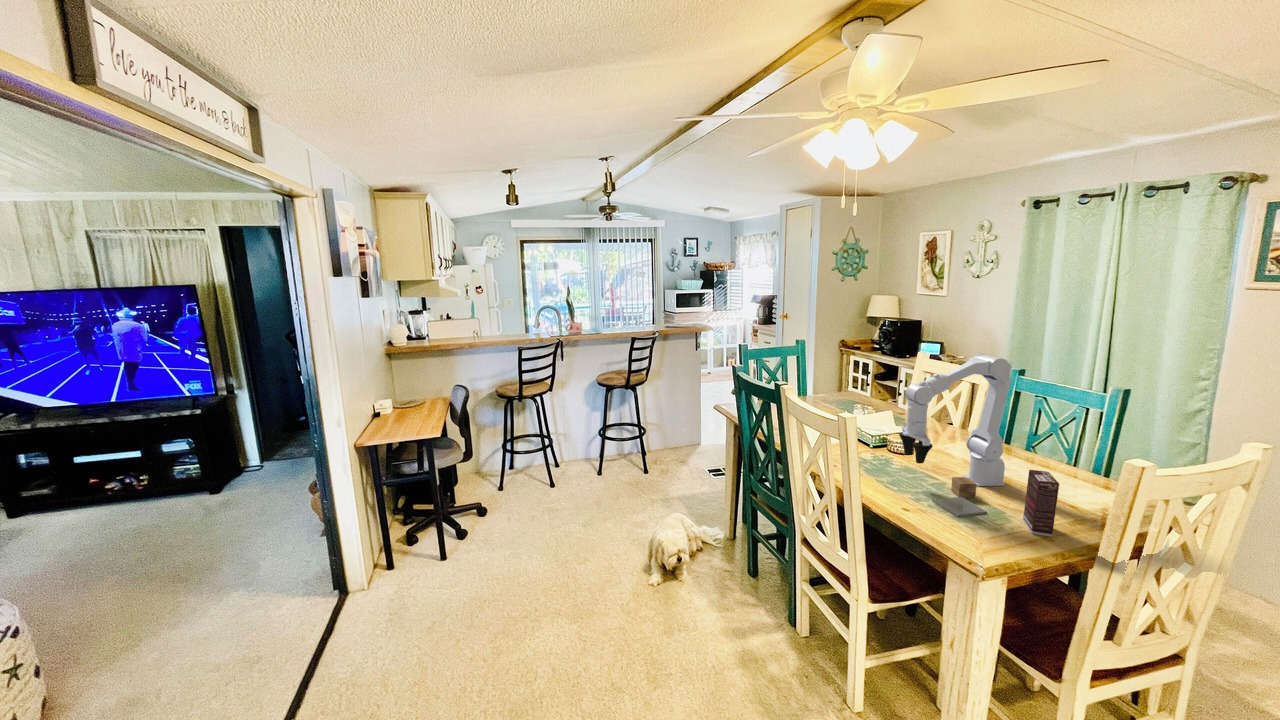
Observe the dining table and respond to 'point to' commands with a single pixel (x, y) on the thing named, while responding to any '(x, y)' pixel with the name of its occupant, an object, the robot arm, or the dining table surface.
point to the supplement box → (1040, 502)
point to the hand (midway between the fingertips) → (914, 458)
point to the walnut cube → (963, 487)
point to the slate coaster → (959, 506)
